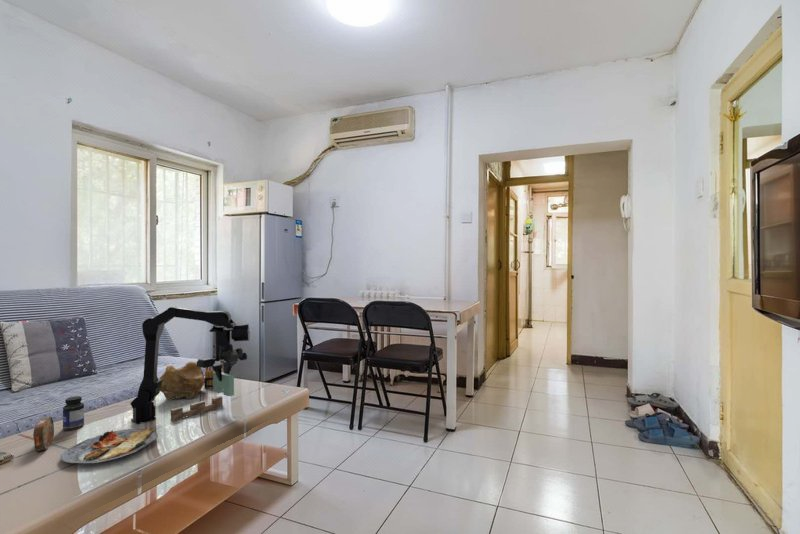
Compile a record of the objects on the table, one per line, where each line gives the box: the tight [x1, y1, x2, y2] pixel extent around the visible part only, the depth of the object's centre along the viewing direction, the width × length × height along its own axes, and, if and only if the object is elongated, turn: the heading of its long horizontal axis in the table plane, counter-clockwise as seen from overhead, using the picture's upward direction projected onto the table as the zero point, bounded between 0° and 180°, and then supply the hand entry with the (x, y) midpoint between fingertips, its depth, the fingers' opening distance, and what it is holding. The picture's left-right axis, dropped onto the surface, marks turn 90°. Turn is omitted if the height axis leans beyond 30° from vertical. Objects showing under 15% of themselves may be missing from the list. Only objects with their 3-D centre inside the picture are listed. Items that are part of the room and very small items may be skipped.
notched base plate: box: [170, 395, 223, 422], centre depth 160 cm, size 20×2×4 cm, turn 144°
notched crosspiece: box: [212, 372, 235, 397], centre depth 160 cm, size 2×12×8 cm, turn 54°
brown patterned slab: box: [32, 416, 55, 452], centre depth 130 cm, size 15×3×8 cm, turn 32°
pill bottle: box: [62, 395, 85, 431], centre depth 146 cm, size 6×6×11 cm
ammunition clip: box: [203, 366, 224, 387], centre depth 197 cm, size 11×2×12 cm, turn 86°
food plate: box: [59, 427, 159, 465], centre depth 126 cm, size 25×23×4 cm
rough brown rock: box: [159, 361, 205, 401], centre depth 183 cm, size 23×17×15 cm
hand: (223, 380), depth 160 cm, fingers closed on notched crosspiece, 2 cm apart
